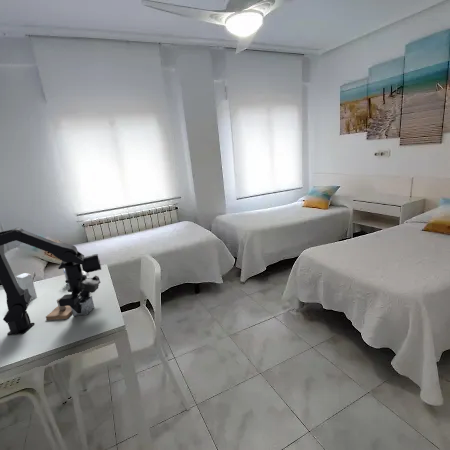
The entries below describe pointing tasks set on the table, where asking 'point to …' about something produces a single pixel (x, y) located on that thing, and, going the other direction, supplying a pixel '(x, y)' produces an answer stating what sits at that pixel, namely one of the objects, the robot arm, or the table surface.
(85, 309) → the grey square sleeve
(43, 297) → the table surface
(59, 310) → the post stand
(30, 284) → the skincare box
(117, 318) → the table surface
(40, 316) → the table surface
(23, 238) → the robot arm
